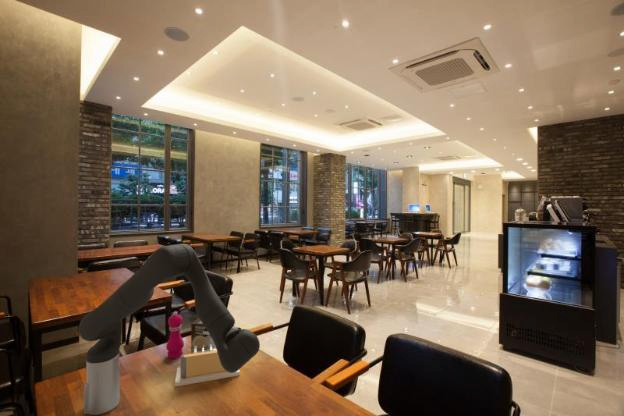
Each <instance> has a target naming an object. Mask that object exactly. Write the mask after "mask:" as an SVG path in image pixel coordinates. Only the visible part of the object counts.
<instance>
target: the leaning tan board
mask: <svg viewBox="0 0 624 416" xmlns="http://www.w3.org/2000/svg"><path fill="white" fill-rule="evenodd" d="M179 364H180V366H179V367H180V377H181V378H186V377H191V376H196V375H202V374H208V373H214V372H220V371H226V370H225V369H224V368H223V367H222V365H221V362H220V360H219V356H218V353H217V350H214V351H207V352H200V353H193V354H191V353H188V354H182V355H181V356H180V363H179Z"/></svg>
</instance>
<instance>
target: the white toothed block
mask: <svg viewBox="0 0 624 416" xmlns="http://www.w3.org/2000/svg"><path fill="white" fill-rule="evenodd" d="M214 350H217V349H216V347H215V348H214V349H212V344H210V349H207V350H204V345H202V350H200V351H197V346H195V348H194V351H193V353H200V352H207V351H214Z"/></svg>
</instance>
